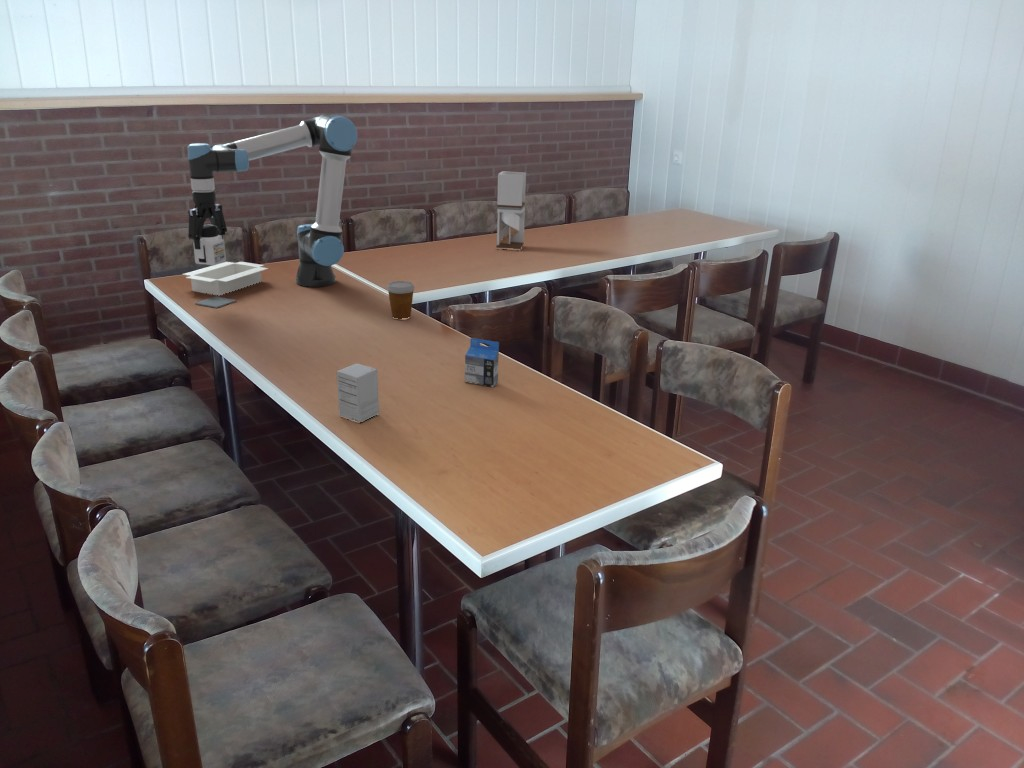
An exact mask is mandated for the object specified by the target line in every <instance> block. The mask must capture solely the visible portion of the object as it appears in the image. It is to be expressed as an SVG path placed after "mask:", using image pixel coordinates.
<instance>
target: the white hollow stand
mask: <svg viewBox="0 0 1024 768" xmlns="http://www.w3.org/2000/svg"><path fill="white" fill-rule="evenodd" d="M526 182H527V172H521V171H520V172H519V171H505V170H504V171H503V170H502V171H501V172H499V173H498V174H497V198H496V199H497V203H496V204H497V205H496V207H497V208H496V210H497V211H496V213H497V226H496V227H497V229H496V230H497V231H496V248H513V249H521V247H522V246H523V244H524V243H525V217H526V216H525V213H526V211H525V209H526V187H527V185H526ZM524 245H525V244H524ZM521 250H522V249H521Z"/></svg>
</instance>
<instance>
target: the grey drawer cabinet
mask: <svg viewBox="0 0 1024 768" xmlns="http://www.w3.org/2000/svg"><path fill="white" fill-rule="evenodd" d="M336 381H337V382H336V384H337V398H338V400H337V401H338V414H339V415H340V416H343V417H346V418H349V419H351V420H355V421H357V422H362V421H364V420H366V419H369V418H371V417H373V416H375V415H377V414H379V415H380V400H379V399H380V398H379V380H378V369H376V368H374V367H371V366H368V365H364V364H360V363H354V364H352V365H351V364H350V365H349V366H347V367H344V368H341V369H340V370H339V369H338V370H337V371H336ZM340 416H339V417H340ZM377 416H378V415H377ZM375 417H376V416H375ZM373 418H374V417H373ZM371 419H372V418H371ZM369 420H370V419H369Z"/></svg>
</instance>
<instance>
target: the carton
mask: <svg viewBox="0 0 1024 768" xmlns="http://www.w3.org/2000/svg"><path fill="white" fill-rule="evenodd" d="M267 270H269V267H268V268H267V267H265V265H264V264H258V263H252V262H245V261H238V262H233V261H231V262H230V261H224V262H221V263H219V264H217V265H209V266H207V267H203V268H200V269H196V270H193V271H189V272H185V273H182V276H186V277H185V279H187V280H189V279H190V283H191V284H190V285H191V291H192V292H195V293H201V294H206V293H207V295H212V294H213V295H214V296H217V295H218V296H217V297H221V296H223V294H224V295H226V294H225V293H227V294H229V292H230V293H233V292H236V291H238V289H239V290H241V288H242V289H245V288H247V286H248V287H251V286H254V285H257V284H259V282H260V283H262V282H263V281H262V272H263V271H267ZM256 283H257V284H256ZM253 284H254V285H253ZM250 285H251V286H250ZM244 287H245V288H244ZM235 290H236V291H235ZM232 291H233V292H232ZM213 295H212V296H213ZM220 295H221V296H220Z"/></svg>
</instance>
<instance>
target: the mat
mask: <svg viewBox="0 0 1024 768" xmlns="http://www.w3.org/2000/svg"><path fill="white" fill-rule="evenodd" d="M233 302H234V303H236V302H237V299H232V298H226V297H221V296H217V295H214V296H212V297H209V298H206V299H203V300H200V301H197V302H195V303H194V304H195V305H197V306H203V307H209V308H212V307H213V308H214V309H218V307H219V308H222V307H224V305H225V306H227V304H228V305H231V304H233ZM230 303H231V304H230ZM221 306H222V307H221ZM213 308H212V309H213Z"/></svg>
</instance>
